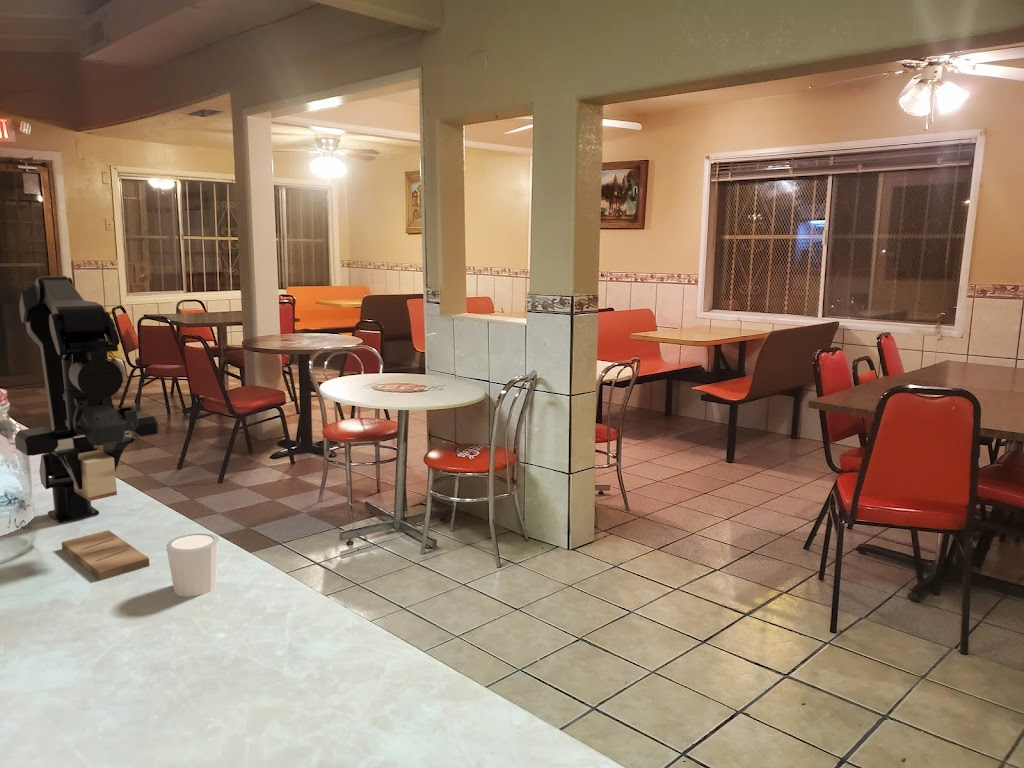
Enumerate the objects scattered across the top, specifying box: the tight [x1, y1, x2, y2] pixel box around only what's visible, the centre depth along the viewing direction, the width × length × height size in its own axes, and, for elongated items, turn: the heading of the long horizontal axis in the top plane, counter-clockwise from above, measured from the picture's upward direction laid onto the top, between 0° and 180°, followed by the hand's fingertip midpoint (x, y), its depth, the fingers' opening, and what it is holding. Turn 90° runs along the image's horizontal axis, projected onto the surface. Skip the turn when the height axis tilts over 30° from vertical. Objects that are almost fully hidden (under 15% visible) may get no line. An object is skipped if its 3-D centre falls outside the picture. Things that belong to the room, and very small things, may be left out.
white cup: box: [165, 532, 220, 597], centre depth 106 cm, size 7×7×7 cm
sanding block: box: [74, 449, 118, 502], centre depth 116 cm, size 6×4×6 cm, turn 49°
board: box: [61, 529, 150, 581], centre depth 117 cm, size 16×7×1 cm, turn 48°
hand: (94, 485), depth 117 cm, fingers closed on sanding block, 4 cm apart
